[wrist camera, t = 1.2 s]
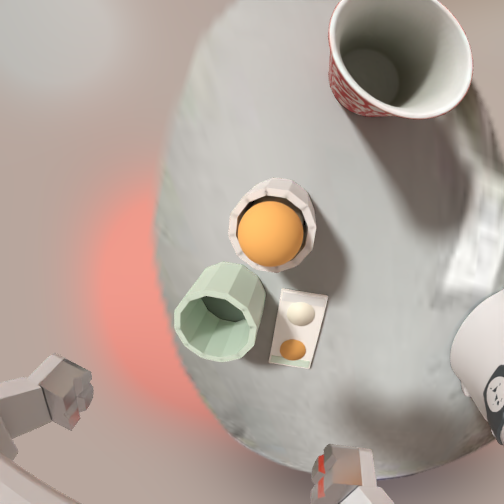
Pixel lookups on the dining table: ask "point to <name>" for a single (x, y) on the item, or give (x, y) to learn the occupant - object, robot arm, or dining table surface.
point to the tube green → (211, 327)
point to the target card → (297, 327)
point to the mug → (398, 58)
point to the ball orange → (270, 233)
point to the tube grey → (282, 193)
